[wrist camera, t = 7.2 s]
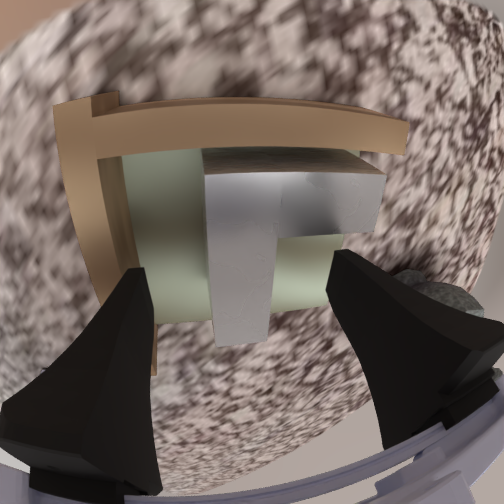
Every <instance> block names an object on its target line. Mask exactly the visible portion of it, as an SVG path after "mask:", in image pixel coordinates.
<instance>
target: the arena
mask: <svg viewBox="0 0 504 504" xmlns="http://www.w3.org/2000/svg"><path fill="white" fill-rule="evenodd" d="M53 115H54V125H55V133H56V141H57V148H58V154H59V160H60V166H61V171H62V177H63V182H64V186H65V191H66V196H67V200H68V204H69V208H70V212H71V216H72V220H73V224H74V228H75V231H76V235H77V238H78V242H79V245H80V248H81V251H82V255H83V258H84V261H85V264H86V267H87V270H88V273H89V276H90V278H91V281H92V284H93V287H94V289H95V292H96V295H97V297H98V300H99V302H100V305H101V307H102V305H103V304H104V302H105V301H106V299H107V298H108V297H109V295H110V294H111V292H112V291H113V289H114V288H115V286H116V285H117V283H118V282H119V280H120V279H121V277H122V276H123V275H124V273H125V272H126V270H127V269H128V268H138V267H144V269H145V273H146V277H147V282H148V286H149V290H150V294H151V298H152V302H153V306H154V342H153V353H152V364H151V376H156V375H157V335H158V326H157V324H168V323H182V322H194V321H205V320H212V316H211V309H210V301H209V293H208V284H207V274H206V260H205V246H204V230H203V212H202V191H201V164H200V148H214V147H245V146H284V147H315V148H334V149H345V150H347V151H348V152H350V153H352V154H354V155H355V156H357V157H359V155H360V151H370V152H380V153H389V154H397V155H404V153H405V147H406V142H407V136H408V130H409V122H406V121H404V120H401V119H398V118H395V117H392V116H389V115H386V114H382V113H379V112H376V111H372V110H369V109H365V108H362V107H356V106H349V105H343V104H335V103H327V102H319V101H309V100H297V99H283V98H262V97H209V98H189V99H175V100H163V101H154V102H145V103H137V104H130V105H123V106H119V91H114V92H109V93H103V94H98V95H93V96H89V97H84V98H80V99H76V100H72V101H68V102H65V103H61V104H57V105H54V106H53ZM343 239H344V234H332V235H317V236H303V237H288V238H278V239H277V250H276V260H275V270H274V280H273V290H272V299H271V309H270V313H277V312H284V311H291V310H298V309H305V308H312V307H318V306H325V305H327V302H328V296H327V293H326V291H325V289H326V285H327V281H328V277H329V272H330V268H331V264H332V259H333V255H334V250H341V247H342V243H343Z"/></svg>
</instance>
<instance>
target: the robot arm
mask: <svg viewBox="0 0 504 504" xmlns="http://www.w3.org/2000/svg"><path fill="white" fill-rule="evenodd" d="M325 291H326V293H327V296H328V299H329V302H330V304H331V307H332V309H333V312H334V314H335V316H336V317H337V319H338V321H339V323H340V325H341V327H342V329H343V330H344V332H345V334H346V336H347V338H348V340H349V341H350V343H351V345H352V347H353V349H354V351H355V353H356V355H357V357H358V359H359V361H360V364H361V366H362V369H363V372H364V374H365V377H366V380H367V383H368V386H369V389H370V392H371V395H372V398H373V402H374V406H375V410H376V414H377V417H378V422H379V427H380V432H381V438H382V445H383V448H384V451H382V452H380V453H378V454H375V455H373V456H371V457H368V458H365V459H363V460H360V461H358V462H355V463H352V464H350V465H347V466H344V467H341V468H338V469H335V470H332V471H329V472H325V473H322V474H319V475H316V476H312V477H308V478H305V479H301V480H297V481H293V482H289V483H284V484H280V485H275V486H270V487H265V488H259V489H254V490H247V491H241V492H234V493H225V494H215V495H203V496H185V497H184V496H181V497H154V496H157V495H158V494H159V493H160V492H161V491H162V490H163V487H162V482H161V478H160V473H159V468H158V463H157V457H156V450H155V443H154V436H153V427H152V417H151V403H150V378H151V364H152V353H153V342H154V306H153V302H152V298H151V294H150V290H149V286H148V282H147V277H146V273H145V269H144V267H138V268H128V269H127V270H126V272H125V273H124V275H123V276H122V277H121V279H120V280H119V282H118V283H117V285H116V286H115V288H114V289H113V291H112V292H111V294H110V295H109V297H108V298H107V299H106V301H105V302H104V304H103V305H102V307H101V308H100V309H99V311H98V312H97V313H96V315H95V316H94V317H93V319H92V320H91V321H90V323H89V324H88V325H87V326H86V328H85V329H84V330H83V331H82V333H81V334H80V335H79V336H78V337H77V338H76V340H75V341H74V342H73V343H72V344H71V345H70V346H69V347H68V348H67V349H66V350H65V351H64V352H63V353H62V354H61V355H60V356H59V357H58V358H57V359H56V360H55V361H54V362H53V363H52V364H51V365H50V366H49V367H48V368H47V369H46V370H42V371H41V374H40V375H39V376H38V377H37V378H35V379H34V380H33V381H32V382H31V383H29V384H28V385H27V386H25V387H24V388H23V389H21V390H20V391H19V392H17V393H16V394H14V395H13V396H12V397H10V398H9V399H7V400H6V401H4V402H3V404H2V407H1V412H0V447H1V448H2V449H3V450H5V451H6V452H8V453H9V454H10V455H12V456H14V457H15V458H17V459H18V460H20V461H22V462H24V463H25V464H27V465H28V466H30V474H29V473H26V472H24V471H21V470H19V469H15V468H13V467H10V466H7V465H4V464H1V463H0V504H290V503H294V502H298V501H301V500H305V499H309V498H312V497H316V496H319V495H322V494H326V493H329V492H332V491H335V490H338V489H340V488H343V487H346V486H349V485H352V484H354V483H357V482H359V481H362V480H364V479H367V478H369V477H372V476H374V475H376V474H378V473H381V472H383V471H385V470H387V469H389V468H391V467H393V466H396V465H398V464H400V463H402V462H404V461H406V460H407V459H410V458H411V457H413V456H415V455H416V456H415V457H414V459H413V462H412V463H411V464H408V465H407V466H405V467H403V468H401V469H399V470H398V471H396V472H395V473H393V474H391V475H389V476H387V477H385V478H384V479H382V480H380V481H377V482H376V483H375V487H376V490H377V492H378V493H377V495H375V496H372V497H370V498H368V499H365V500H363V501H360V502H358V503H355V504H475V500H474V497H473V495H472V493H471V490H470V487H471V486H472V485H473V484H474V483H475V482H476V481H477V480H478V479H479V478H480V477H481V476H482V475H483V474H484V472H485V471H486V470H487V469H488V468H489V467H490V466H491V465H492V464H493V462H494V461H495V460H496V459H497V458H498V457H499V455H500V454H501V453H502V452H503V450H504V374H503V375H502V376H501V377H499V378H498V379H497V380H496V381H495V382H494V380H493V379H492V377H493V376H494V375H495V372H494V370H493V369H492V366H493V365H494V364H495V362H497V360H498V359H499V358H500V357H501V355H502V354H503V353H504V324H503V323H502V322H500V321H495V320H491V319H487V318H483V317H479V316H476V315H472V314H469V313H466V312H463V311H460V310H458V309H455V308H452V307H450V306H448V305H445V304H443V303H440V302H438V301H436V300H434V299H432V298H430V297H428V296H426V295H424V294H422V293H420V292H418V291H416V290H414V289H413V288H411V287H409V286H408V285H406V284H404V283H402V282H401V281H399V280H397V279H396V278H394V277H393V276H391V275H389V274H388V273H386V272H385V271H383V270H382V269H380V268H378V267H377V266H375V265H374V264H372V263H371V262H369V261H368V260H366V259H364V258H363V257H361V256H360V255H358V254H356V253H354V252H353V251H351V250H349V249H343V250H334V255H333V259H332V264H331V268H330V272H329V277H328V281H327V285H326V289H325ZM150 496H151V497H150Z"/></svg>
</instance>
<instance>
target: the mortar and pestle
mask: <svg viewBox="0 0 504 504" xmlns="http://www.w3.org/2000/svg"><path fill="white" fill-rule="evenodd" d="M393 277H394V278H396V279H397V280H399V281H401V282H402V283H404V284H406V285H408V286H409V287H411V288H413V289H414V290H416V291H418V292H420V293H422V294H424V295H426V296H428V297H430V298H432V299H434V300H436V301H438V302H440V303H443V304H445V305H448V306H450V307H452V308H455V309H458V310H460V311H463V312H466V313H469V314H472V315H476V316H479V317H484V316H483V315H484V309H483V308H482V306H481V305H480V304H479V303H478V302H477V300H476V299H475V298H474V297H473V296H471V295H470V294H469V293H467V292H466V291H465V290H464V289H462V288H461V287H458V286H454V285H451V284H447V283H441V282H430V281H427V280H426V278H425V276H424V275H423V274H422V272H421V271H418V270H410V269H405V270H403V271H402V272H400V273H398V274H396V275H394V276H393ZM492 369H493V370H494V372H495V375H494V376H493V377H492V379H493V380H494V382H495V381H496V380H497V379H498V378H499V377H501V376H502V375H503V373H502V371H501V370H500V369H499V368H493V367H492Z"/></svg>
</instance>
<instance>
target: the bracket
mask: <svg viewBox="0 0 504 504" xmlns="http://www.w3.org/2000/svg"><path fill="white" fill-rule="evenodd" d="M200 164H201V191H202V212H203V230H204V246H205V260H206V274H207V284H208V293H209V301H210V309H211V316H212V324H213V331H214V338H215V345H216V347H223V346H232V345H241V344H249V343H256V342H263V341H267V336H268V327H269V318H270V309H271V299H272V290H273V280H274V270H275V260H276V250H277V239H278V238H288V237H303V236H317V235H332V234H347V233H363V232H374V228H375V225H376V221H377V217H378V213H379V209H380V204H381V200H382V196H383V191H384V187H385V182H386V177H387V175H386V174H385V173H383V172H381V171H380V170H378V169H377V168H375V167H373V166H372V165H370V164H369V163H367V162H365V161H364V160H362V159H360V158H359V157H357V156H355V155H354V154H352V153H350V152H348V151H347V150H345V149H334V148H315V147H284V146H245V147H214V148H200Z"/></svg>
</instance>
